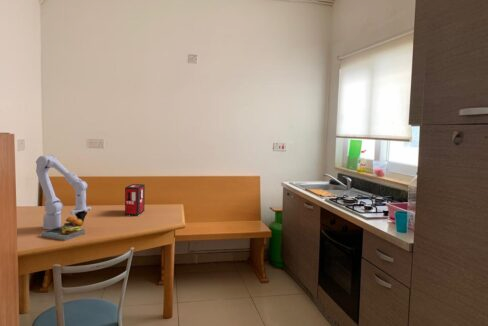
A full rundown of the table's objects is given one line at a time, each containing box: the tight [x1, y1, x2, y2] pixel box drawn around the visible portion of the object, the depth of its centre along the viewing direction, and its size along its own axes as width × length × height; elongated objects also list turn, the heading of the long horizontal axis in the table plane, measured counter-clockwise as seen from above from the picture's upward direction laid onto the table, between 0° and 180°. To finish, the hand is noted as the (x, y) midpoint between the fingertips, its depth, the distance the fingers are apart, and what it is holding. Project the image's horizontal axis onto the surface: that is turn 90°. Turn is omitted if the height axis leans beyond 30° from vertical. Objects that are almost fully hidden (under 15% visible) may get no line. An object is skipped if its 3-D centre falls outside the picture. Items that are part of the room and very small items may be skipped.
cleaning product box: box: [124, 183, 146, 217], centre depth 269 cm, size 16×9×20 cm, turn 179°
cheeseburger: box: [61, 216, 84, 235], centre depth 218 cm, size 10×11×10 cm
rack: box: [40, 225, 86, 241], centre depth 212 cm, size 17×14×3 cm
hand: (80, 223), depth 224 cm, fingers closed
